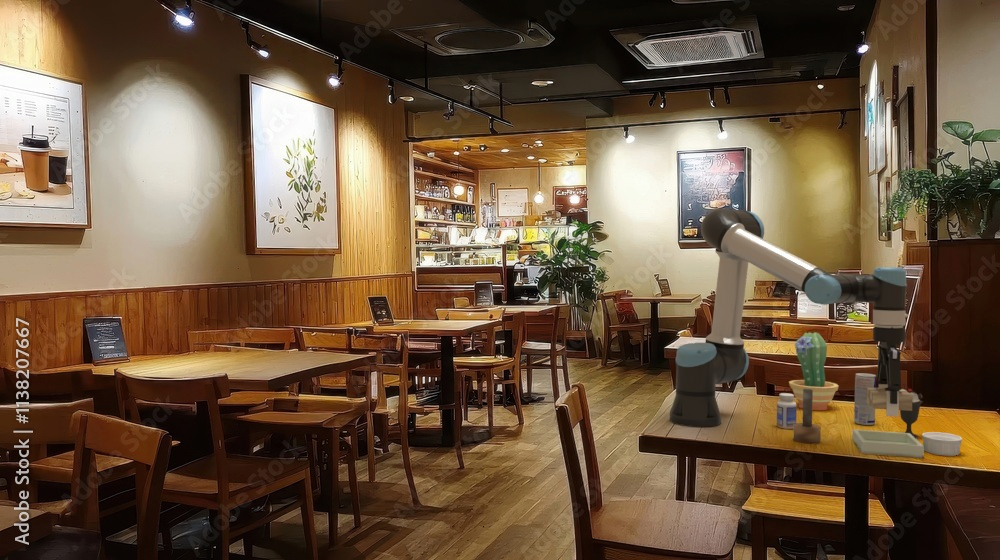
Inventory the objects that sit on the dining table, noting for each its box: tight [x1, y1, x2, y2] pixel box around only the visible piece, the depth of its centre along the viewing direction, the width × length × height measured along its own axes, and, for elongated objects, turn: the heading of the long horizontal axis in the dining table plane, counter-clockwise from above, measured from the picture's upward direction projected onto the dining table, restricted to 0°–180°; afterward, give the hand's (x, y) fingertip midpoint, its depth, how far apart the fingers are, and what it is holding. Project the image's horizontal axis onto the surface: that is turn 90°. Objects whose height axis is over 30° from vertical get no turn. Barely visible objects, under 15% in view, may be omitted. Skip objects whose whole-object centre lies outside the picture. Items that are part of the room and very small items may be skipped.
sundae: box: [899, 383, 923, 439], centre depth 205 cm, size 7×7×15 cm
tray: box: [852, 429, 925, 459], centre depth 191 cm, size 14×14×3 cm
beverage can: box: [853, 372, 877, 426], centre depth 220 cm, size 6×6×15 cm
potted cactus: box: [788, 332, 840, 411], centre depth 243 cm, size 16×15×25 cm
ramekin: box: [921, 431, 963, 457], centre depth 188 cm, size 9×9×4 cm
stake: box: [793, 389, 822, 445], centre depth 199 cm, size 7×7×14 cm
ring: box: [866, 387, 912, 411], centre depth 191 cm, size 9×9×4 cm
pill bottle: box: [776, 392, 798, 430], centre depth 215 cm, size 5×5×10 cm
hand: (888, 412), depth 191 cm, fingers closed on ring, 9 cm apart
